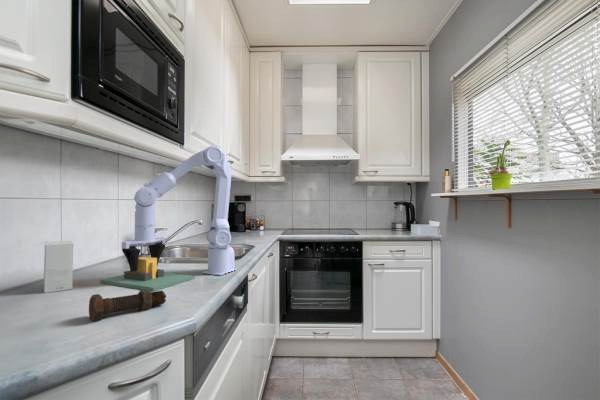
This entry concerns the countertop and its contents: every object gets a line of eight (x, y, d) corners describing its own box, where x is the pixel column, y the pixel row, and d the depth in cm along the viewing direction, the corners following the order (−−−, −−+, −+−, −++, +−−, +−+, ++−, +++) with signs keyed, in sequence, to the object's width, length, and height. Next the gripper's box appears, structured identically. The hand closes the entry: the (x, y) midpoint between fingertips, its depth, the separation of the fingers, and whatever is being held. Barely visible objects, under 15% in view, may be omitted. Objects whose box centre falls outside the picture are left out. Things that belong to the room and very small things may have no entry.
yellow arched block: (143, 274, 103) (143, 256, 104) (159, 277, 101) (159, 258, 101) (132, 277, 100) (132, 258, 100) (148, 279, 97) (148, 260, 97)
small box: (72, 289, 89) (73, 243, 90) (43, 293, 85) (44, 244, 86) (70, 283, 96) (71, 240, 96) (43, 287, 92) (44, 242, 92)
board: (145, 272, 111) (145, 264, 111) (194, 278, 103) (194, 269, 103) (100, 283, 97) (100, 273, 97) (153, 291, 88) (153, 280, 88)
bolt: (164, 313, 76) (91, 328, 66) (158, 299, 79) (87, 310, 69) (170, 294, 74) (95, 306, 64) (163, 280, 78) (91, 289, 67)
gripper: (154, 224, 109) (153, 263, 109) (114, 226, 96) (114, 272, 95) (169, 224, 106) (169, 265, 106) (131, 227, 93) (130, 274, 93)
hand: (144, 268), depth 100 cm, fingers open, 7 cm apart
